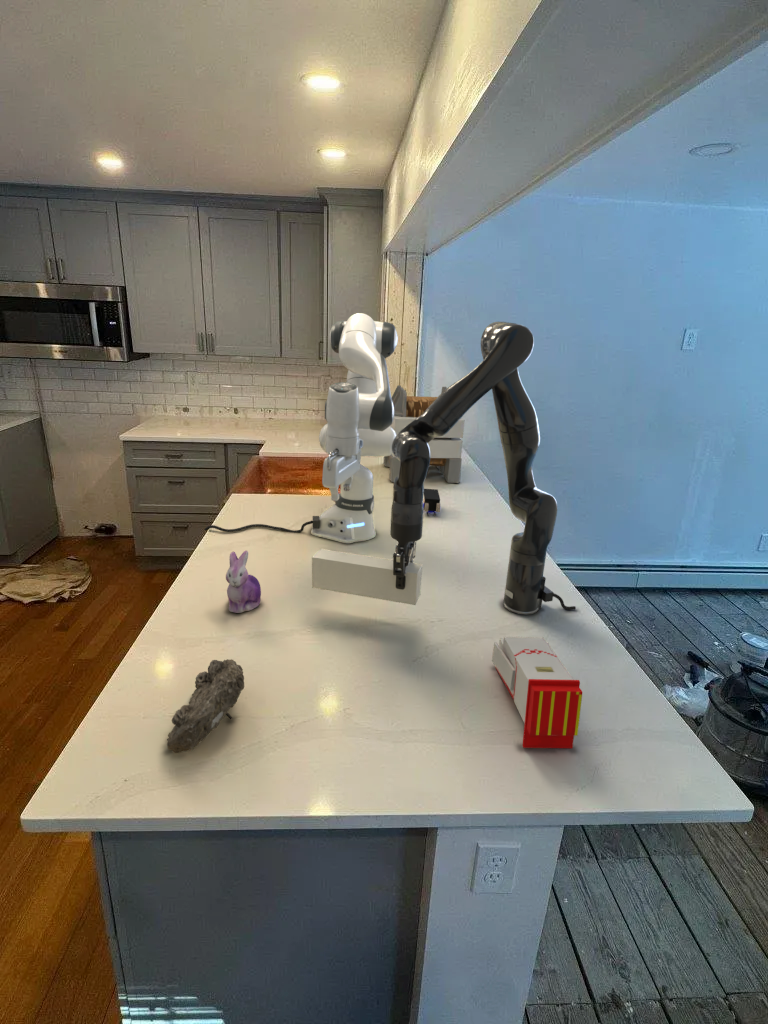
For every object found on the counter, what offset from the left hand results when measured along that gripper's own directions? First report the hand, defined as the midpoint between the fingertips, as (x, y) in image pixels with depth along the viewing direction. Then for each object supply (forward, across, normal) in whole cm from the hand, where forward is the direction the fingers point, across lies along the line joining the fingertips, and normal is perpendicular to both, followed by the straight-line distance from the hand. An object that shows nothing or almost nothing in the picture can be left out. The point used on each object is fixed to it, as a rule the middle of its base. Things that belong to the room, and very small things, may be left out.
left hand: (341, 495), depth 155 cm
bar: (+18, -18, -13) cm, 29 cm away
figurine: (+26, -22, +18) cm, 39 cm away
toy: (+27, -37, -55) cm, 71 cm away
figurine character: (+25, +69, -13) cm, 74 cm away
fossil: (+27, -62, +3) cm, 68 cm away
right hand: (+14, -18, -23) cm, 32 cm away
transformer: (+24, +122, +4) cm, 124 cm away
